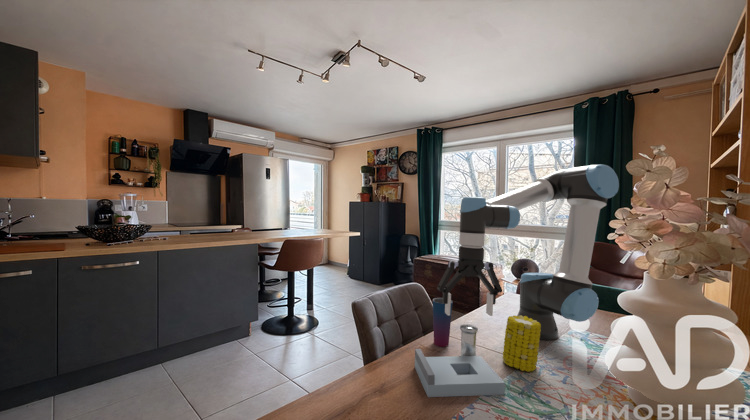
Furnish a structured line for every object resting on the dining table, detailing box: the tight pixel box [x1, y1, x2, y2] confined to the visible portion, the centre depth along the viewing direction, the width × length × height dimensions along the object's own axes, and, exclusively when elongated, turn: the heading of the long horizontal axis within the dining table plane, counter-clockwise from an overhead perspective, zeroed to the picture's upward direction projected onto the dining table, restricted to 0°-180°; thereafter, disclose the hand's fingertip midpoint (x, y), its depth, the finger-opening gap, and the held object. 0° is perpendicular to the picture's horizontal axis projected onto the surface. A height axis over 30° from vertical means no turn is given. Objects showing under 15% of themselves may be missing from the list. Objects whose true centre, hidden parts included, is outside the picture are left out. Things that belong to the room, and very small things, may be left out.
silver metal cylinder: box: [459, 323, 479, 356], centre depth 94 cm, size 5×5×10 cm
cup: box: [432, 297, 453, 348], centre depth 104 cm, size 7×7×15 cm
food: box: [502, 315, 541, 373], centre depth 91 cm, size 15×12×10 cm
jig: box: [414, 348, 506, 398], centre depth 82 cm, size 20×14×5 cm
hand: (468, 314), depth 93 cm, fingers open, 13 cm apart
